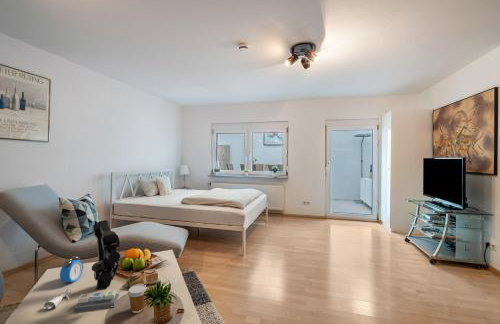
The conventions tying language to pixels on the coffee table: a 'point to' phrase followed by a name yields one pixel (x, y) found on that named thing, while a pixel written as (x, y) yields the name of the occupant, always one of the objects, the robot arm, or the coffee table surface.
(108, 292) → the key sage
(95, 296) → the key blue
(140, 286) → the disposable coffee cup
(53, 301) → the woman figurine
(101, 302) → the keypad
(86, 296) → the key ivory
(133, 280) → the pastry
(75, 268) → the alarm clock
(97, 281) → the robot arm
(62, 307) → the coffee table surface
